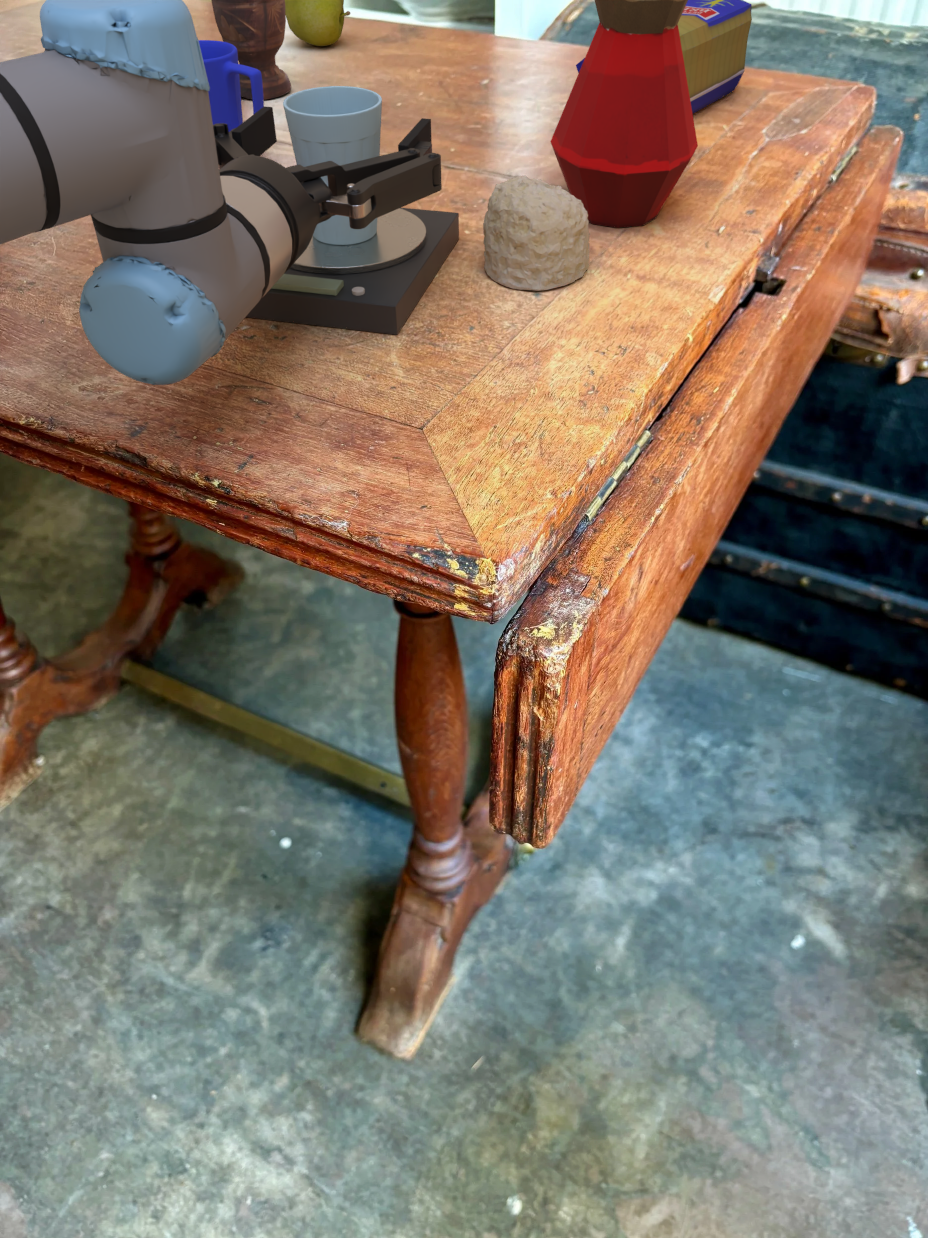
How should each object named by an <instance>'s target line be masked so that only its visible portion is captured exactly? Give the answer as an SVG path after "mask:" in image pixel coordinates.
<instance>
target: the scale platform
mask: <svg viewBox="0 0 928 1238" xmlns="http://www.w3.org/2000/svg"><path fill="white" fill-rule="evenodd" d="M426 238H427V237H426V227H425V225H424V223H423V222H422V221H421V219H419V218H418V217H417V216H415V215H414V214H412V213H410V212H408V211H406V210H403V209H400V208H399V209H396V210H394V211H392V212H389V213H387V214H385V215H382V216H380V217H378V218H377V232H376V234H375V235H374V236H373V237H372V238H370V239H368V240H366V241H364V242H361V243H356V244H351V245H333V244H327V243H323V242H320V241H318V240H317V239H316V238H314V236H312V239H311V241H310V243H309V245H308V247H307V249H306V250H305V251H304V253H303V254H302V255H301V256H300V257H299V258H298V259H297V260H296V261H295V263H294V264H293V265H292V266H291V267H290V268H291V269H294V270H299V271H303V272H310V273H318V274H354V273H363V272H369V271H374V270H379V269H383V268H387V267H390V266H393V265H396V264H399V263H401V262H403V261H405V260H407V259H409V258H411V257H412V256H414V255H415V254H417V253H418V252H419V251H420V250H421V249H422V248H423V246H424V244H425V242H426Z"/></svg>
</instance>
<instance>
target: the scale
mask: <svg viewBox="0 0 928 1238" xmlns="http://www.w3.org/2000/svg"><path fill="white" fill-rule="evenodd" d="M400 209H403V210H406V211H408V212H410V213H412V214H414V215H415V216H417V217H418V218H419V219H421V221H422V222H423V223H424V225H425V227H426V237H427V238H426V242H425V244H424V246H423V248H422V249H421V250H420V251H419V252H418V253H417V254H415V255H414V256H412V257H411V258H409V259H407V260H405V261H403V262H401V263H399V264H396V265H393V266H390V267H387V268H383V269H379V270H374V271H369V272H363V273H354V274H318V273H310V272H303V271H299V270H294V269H291V268H289V269H288V270H287V271H286V272H285V273H284V274H283V275H282V276H281V278H280V279H279V280H278V281H277V282H276V283H275V284H274V285H273V287H272V288H271V289H270V290H269V291H268V292H267V293H266V294H265V295H264V297H262V298H261V300H260V301H259V302H258V303H257V304H256V305H255V307H254V308H253V309H252V310H251V311H250V312H249V314H248V315H247V316H246V317H245V318H248V319H258V320H265V321H275V322H283V323H292V324H293V323H294V324H301V325H309V326H318V327H325V328H326V327H327V328H335V329H344V330H351V331H360V332H368V333H378V334H386V335H387V334H388V335H395V336H396V335H398V334H399V333H400V331H401V330H402V328H403V327H404V325H405V323H406V322H407V320H408V319H409V317H410V316H411V314H412V313H413V311H414V309H415V308H416V306H417V305H418V303H419V302H420V300H421V298H422V297H423V295H424V294H425V292H426V291H427V289H428V287H429V286H430V285H431V283H432V282H433V280H434V278H435V277H436V275H437V274H438V273H439V271H440V270H441V268H442V266H443V265H444V263H445V261H446V260H447V258H448V257H449V255H450V254H451V252H452V250H454V247H455V246H456V244H457V243H458V241H459V240H460V214H459V212H451V211H441V210H432V209H419V208H410V207H409V208H408V207H401V208H400Z"/></svg>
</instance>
